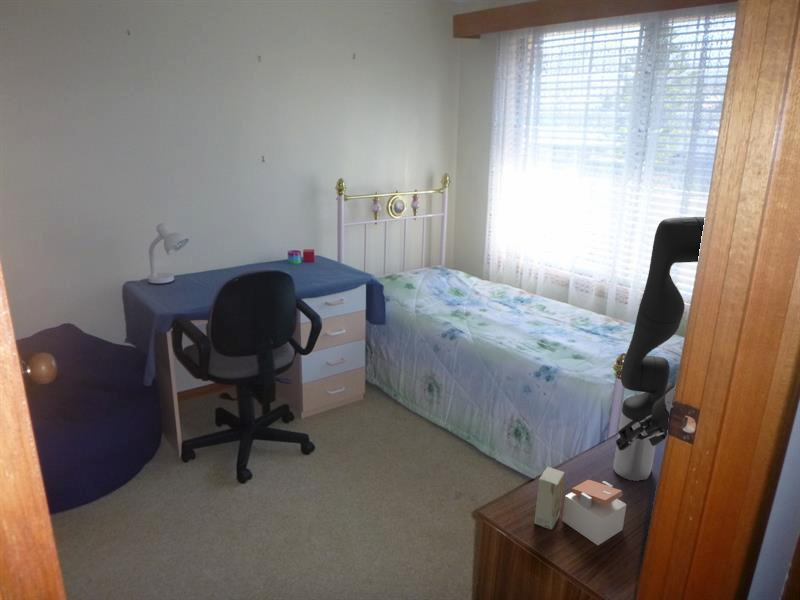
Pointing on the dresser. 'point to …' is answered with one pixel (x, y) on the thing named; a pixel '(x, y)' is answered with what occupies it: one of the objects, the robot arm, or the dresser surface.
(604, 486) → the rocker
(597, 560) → the dresser surface
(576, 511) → the switch box
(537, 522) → the skincare box
